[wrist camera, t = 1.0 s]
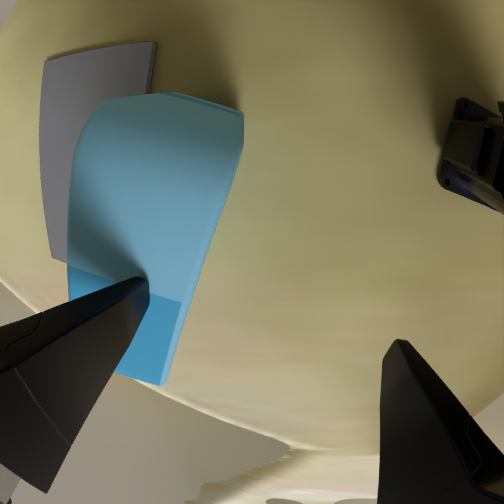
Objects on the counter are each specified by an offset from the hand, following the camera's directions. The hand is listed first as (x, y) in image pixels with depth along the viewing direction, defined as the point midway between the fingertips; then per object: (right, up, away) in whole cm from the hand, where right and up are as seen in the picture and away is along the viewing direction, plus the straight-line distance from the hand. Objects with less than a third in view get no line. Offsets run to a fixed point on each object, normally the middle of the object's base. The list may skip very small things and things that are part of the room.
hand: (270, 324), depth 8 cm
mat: (-14, +9, +12) cm, 21 cm away
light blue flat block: (-5, +7, +11) cm, 14 cm away
